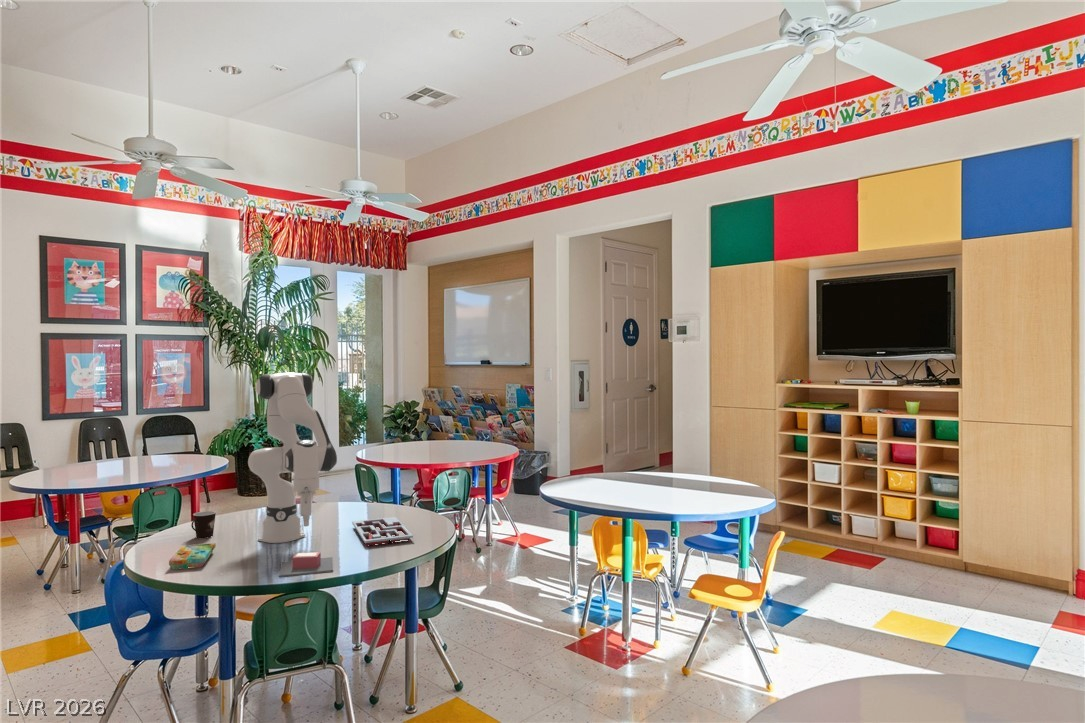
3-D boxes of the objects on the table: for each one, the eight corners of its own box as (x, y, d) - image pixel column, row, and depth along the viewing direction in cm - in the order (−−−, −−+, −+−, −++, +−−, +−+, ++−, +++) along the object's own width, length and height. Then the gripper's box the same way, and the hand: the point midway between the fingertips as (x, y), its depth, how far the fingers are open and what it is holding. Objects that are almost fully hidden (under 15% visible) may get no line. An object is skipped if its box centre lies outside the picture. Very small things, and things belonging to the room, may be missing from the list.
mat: (281, 563, 241) (281, 561, 241) (332, 558, 247) (332, 557, 247) (279, 577, 226) (279, 575, 226) (333, 571, 232) (333, 569, 232)
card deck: (320, 562, 240) (320, 551, 240) (317, 567, 234) (316, 556, 234) (296, 563, 239) (296, 552, 239) (292, 568, 234) (292, 557, 233)
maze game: (413, 543, 269) (412, 535, 269) (364, 548, 261) (364, 541, 261) (395, 523, 301) (395, 516, 301) (352, 528, 293) (352, 521, 293)
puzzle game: (168, 558, 233) (182, 543, 253) (169, 571, 234) (182, 555, 253) (204, 555, 237) (215, 541, 256) (204, 568, 237) (215, 552, 256)
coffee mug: (209, 532, 285) (209, 510, 285) (219, 535, 280) (219, 512, 280) (182, 538, 275) (182, 515, 275) (192, 542, 270) (192, 518, 270)
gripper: (315, 490, 228) (315, 529, 228) (315, 479, 247) (316, 515, 247) (296, 491, 226) (296, 530, 226) (298, 480, 245) (298, 516, 245)
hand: (306, 522), depth 237 cm, fingers open, 8 cm apart
